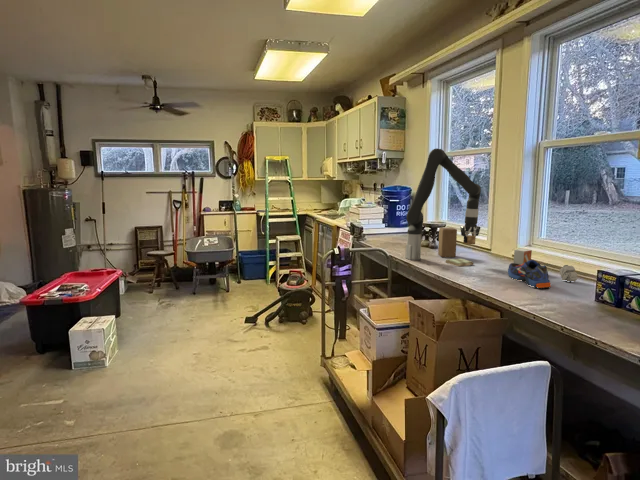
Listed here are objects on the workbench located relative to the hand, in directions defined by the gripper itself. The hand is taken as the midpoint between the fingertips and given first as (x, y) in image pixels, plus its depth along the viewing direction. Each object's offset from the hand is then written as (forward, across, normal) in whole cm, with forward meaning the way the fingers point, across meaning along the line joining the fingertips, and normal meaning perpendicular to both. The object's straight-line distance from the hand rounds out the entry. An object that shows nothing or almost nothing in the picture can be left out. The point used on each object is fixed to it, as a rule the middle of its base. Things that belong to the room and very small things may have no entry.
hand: (469, 242), depth 262 cm
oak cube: (+1, 0, 0) cm, 1 cm away
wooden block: (+15, +5, +27) cm, 32 cm away
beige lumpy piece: (+13, +22, -54) cm, 60 cm away
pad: (+14, -3, +3) cm, 15 cm away
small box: (+13, +18, -27) cm, 35 cm away
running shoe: (+13, +2, -47) cm, 49 cm away
